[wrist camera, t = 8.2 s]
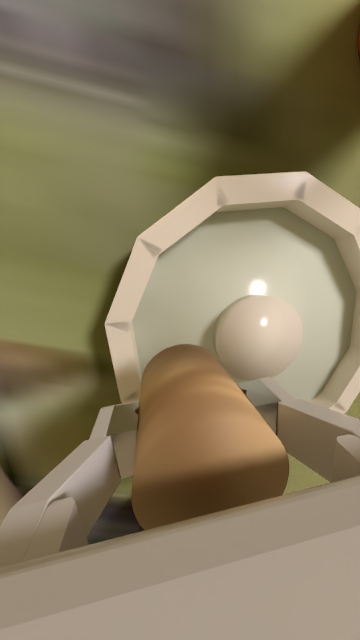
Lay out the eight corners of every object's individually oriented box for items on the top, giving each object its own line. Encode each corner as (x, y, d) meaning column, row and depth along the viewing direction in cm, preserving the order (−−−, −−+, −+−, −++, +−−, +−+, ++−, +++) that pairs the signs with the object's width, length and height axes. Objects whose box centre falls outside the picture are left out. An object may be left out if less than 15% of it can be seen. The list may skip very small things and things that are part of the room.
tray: (387, 348, 19) (421, 358, 17) (212, 472, 20) (221, 500, 17) (295, 123, 13) (326, 91, 11) (54, 308, 14) (34, 316, 12)
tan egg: (221, 338, 10) (292, 404, 5) (225, 410, 11) (286, 524, 6) (134, 351, 9) (116, 439, 4) (147, 426, 10) (144, 563, 5)
